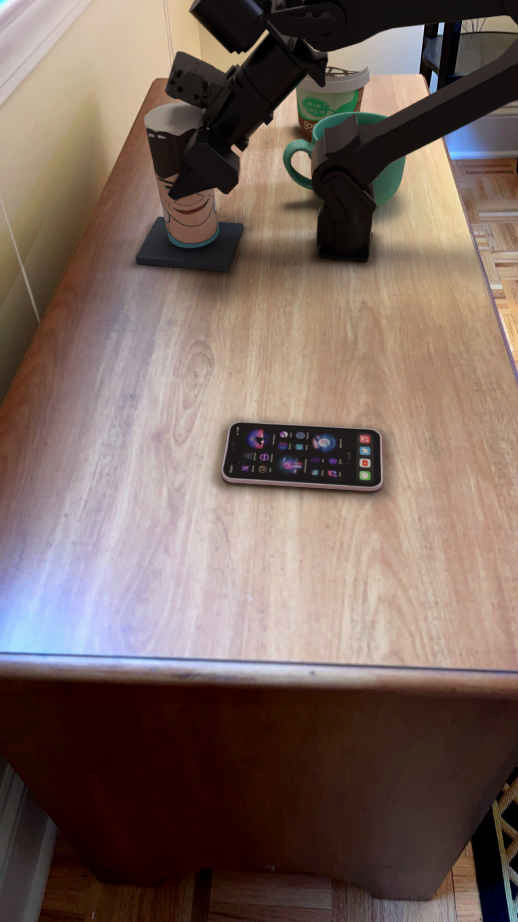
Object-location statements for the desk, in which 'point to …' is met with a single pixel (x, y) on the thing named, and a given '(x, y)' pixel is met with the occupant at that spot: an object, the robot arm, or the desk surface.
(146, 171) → the desk surface
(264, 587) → the desk surface
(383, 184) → the mug
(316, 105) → the food container
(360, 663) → the desk surface
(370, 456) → the smartphone
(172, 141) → the cup
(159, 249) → the slate mat
